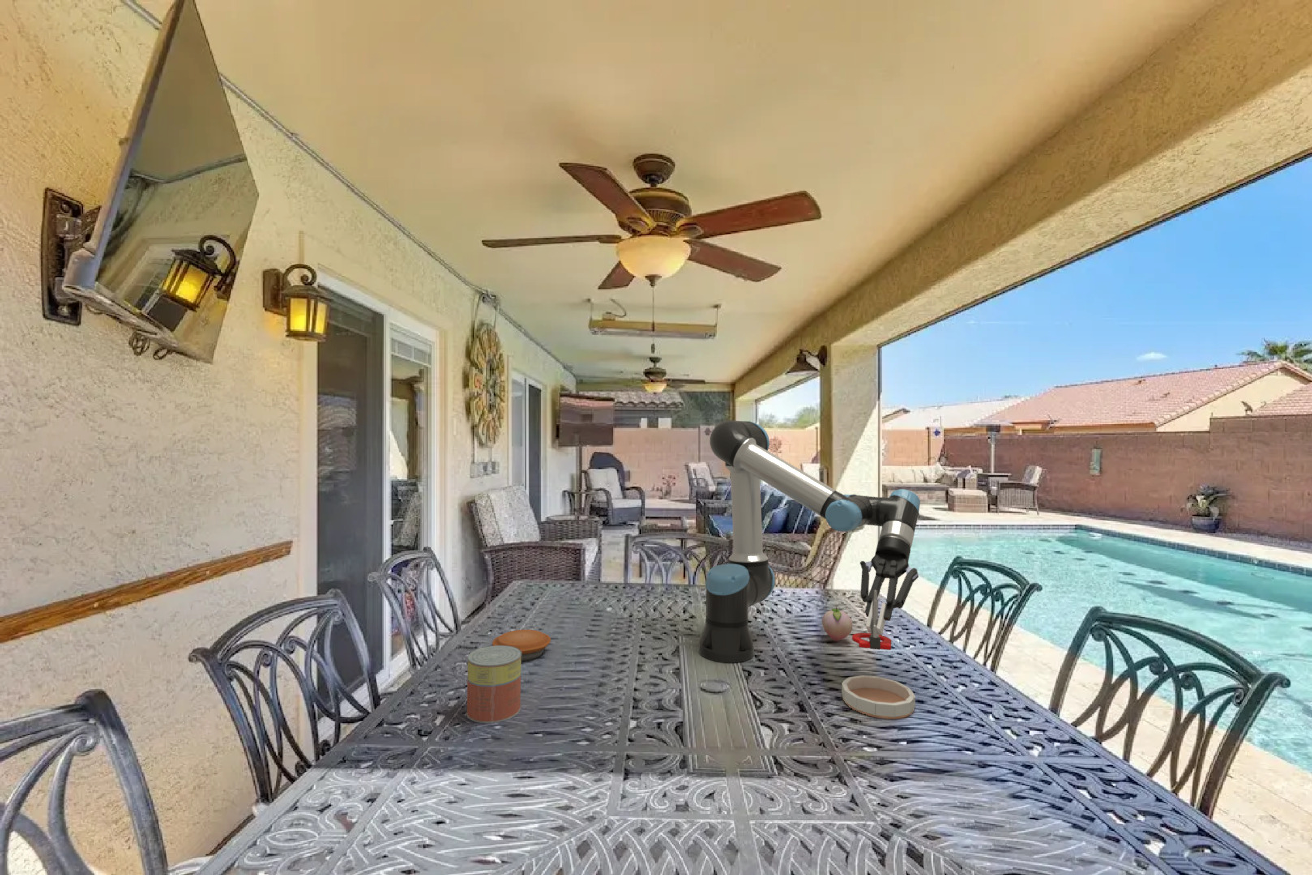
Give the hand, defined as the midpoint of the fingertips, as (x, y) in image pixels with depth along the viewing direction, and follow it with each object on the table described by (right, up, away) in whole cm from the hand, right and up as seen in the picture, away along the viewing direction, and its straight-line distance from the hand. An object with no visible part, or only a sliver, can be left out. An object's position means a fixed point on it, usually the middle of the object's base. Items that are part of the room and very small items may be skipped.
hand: (874, 630), depth 127 cm
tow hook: (+1, -4, +4) cm, 6 cm away
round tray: (+2, -18, +3) cm, 18 cm away
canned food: (-83, -16, -3) cm, 85 cm away
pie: (-85, -17, +30) cm, 91 cm away
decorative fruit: (+5, -18, +43) cm, 47 cm away
